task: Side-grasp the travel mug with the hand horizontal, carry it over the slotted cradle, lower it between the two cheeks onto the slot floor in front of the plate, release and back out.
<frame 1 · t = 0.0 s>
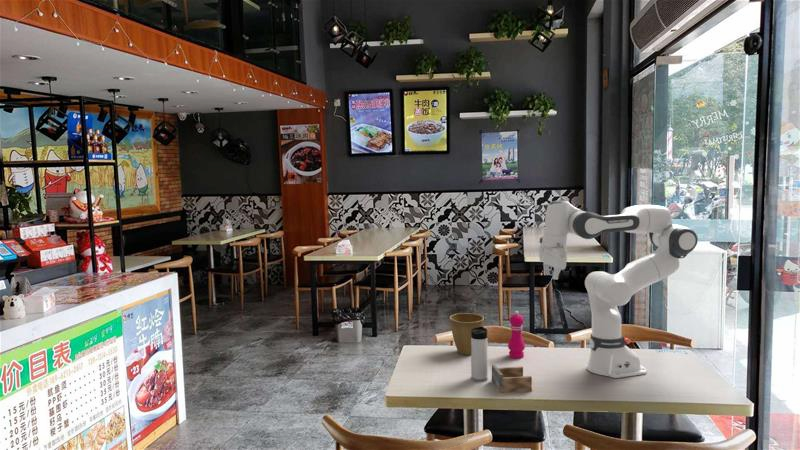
hand: (550, 276, 236), 39 cm above the table, tool pointing down, fingers open, 8 cm apart
cradle: (511, 385, 227), on the table
pepper mill: (516, 356, 261), on the table
plant pot: (467, 353, 267), on the table
travel mug: (479, 379, 235), on the table
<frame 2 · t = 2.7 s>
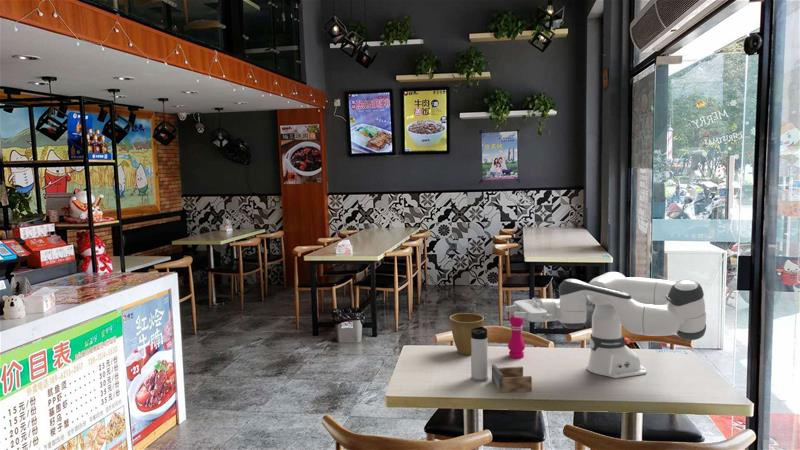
hand: (509, 311, 234), 26 cm above the table, tool horizontal, fingers open, 8 cm apart
nothing on the table moved.
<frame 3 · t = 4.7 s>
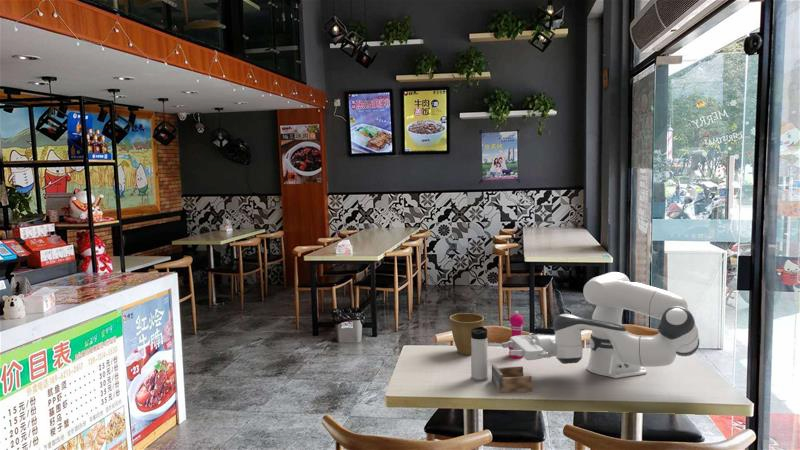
hand: (506, 348, 235), 11 cm above the table, tool horizontal, fingers open, 8 cm apart
nothing on the table moved.
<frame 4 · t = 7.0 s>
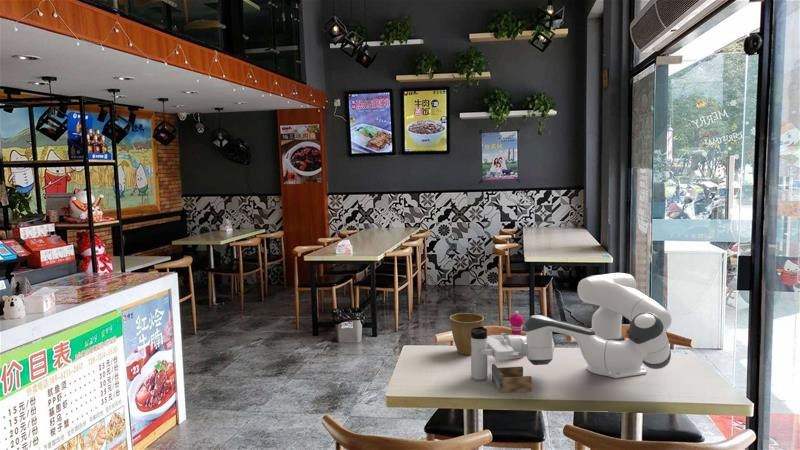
hand: (477, 348, 233), 12 cm above the table, tool horizontal, fingers closed on travel mug, 6 cm apart
travel mug: (479, 379, 235), on the table, touching gripper
everything else where it was.
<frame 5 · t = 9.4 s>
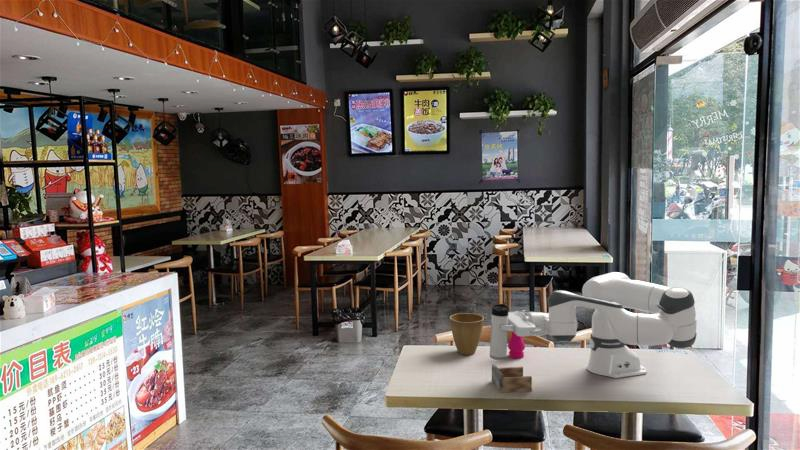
hand: (497, 324, 227), 23 cm above the table, tool horizontal, fingers closed on travel mug, 6 cm apart
travel mug: (498, 357, 229), point 10 cm above the table, touching gripper
everything else where it was.
when the fingers open (15 cm above the table, at t = 12.1 s): travel mug stays where it is, resting on cradle.
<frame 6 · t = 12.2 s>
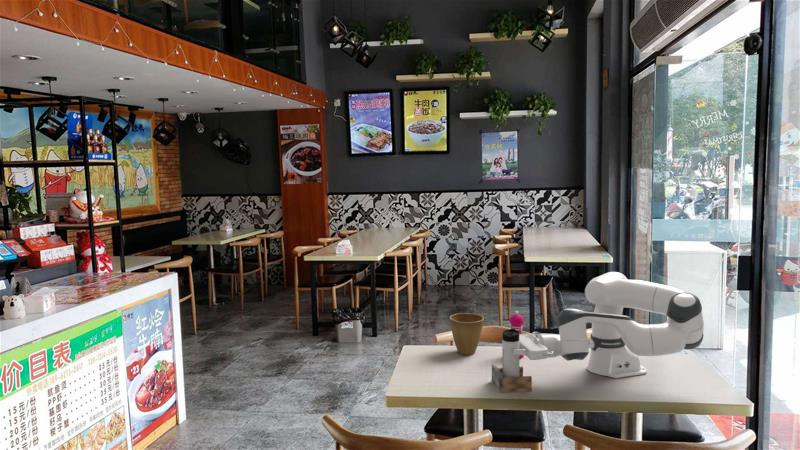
hand: (509, 348, 225), 15 cm above the table, tool horizontal, fingers open, 7 cm apart
travel mug: (510, 383, 227), point 1 cm above the table, touching cradle
everything else where it was.
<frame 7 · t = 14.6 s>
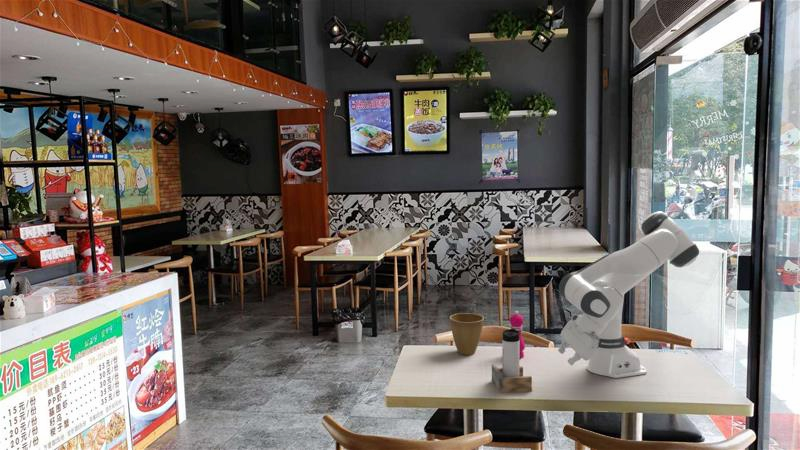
hand: (564, 357, 214), 14 cm above the table, tool tilted 35°, fingers open, 8 cm apart
nothing on the table moved.
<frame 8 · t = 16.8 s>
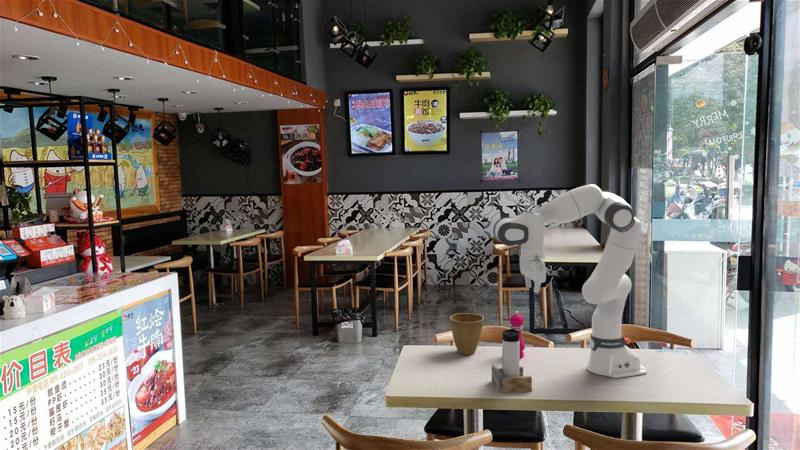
hand: (532, 289, 230), 35 cm above the table, tool pointing down, fingers open, 8 cm apart
nothing on the table moved.
at the end: travel mug inside the target area on the cradle (0.6 cm from its centre), point 1.0 cm above the cradle's base; travel mug tilted 0°; the gripper is holding nothing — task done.
